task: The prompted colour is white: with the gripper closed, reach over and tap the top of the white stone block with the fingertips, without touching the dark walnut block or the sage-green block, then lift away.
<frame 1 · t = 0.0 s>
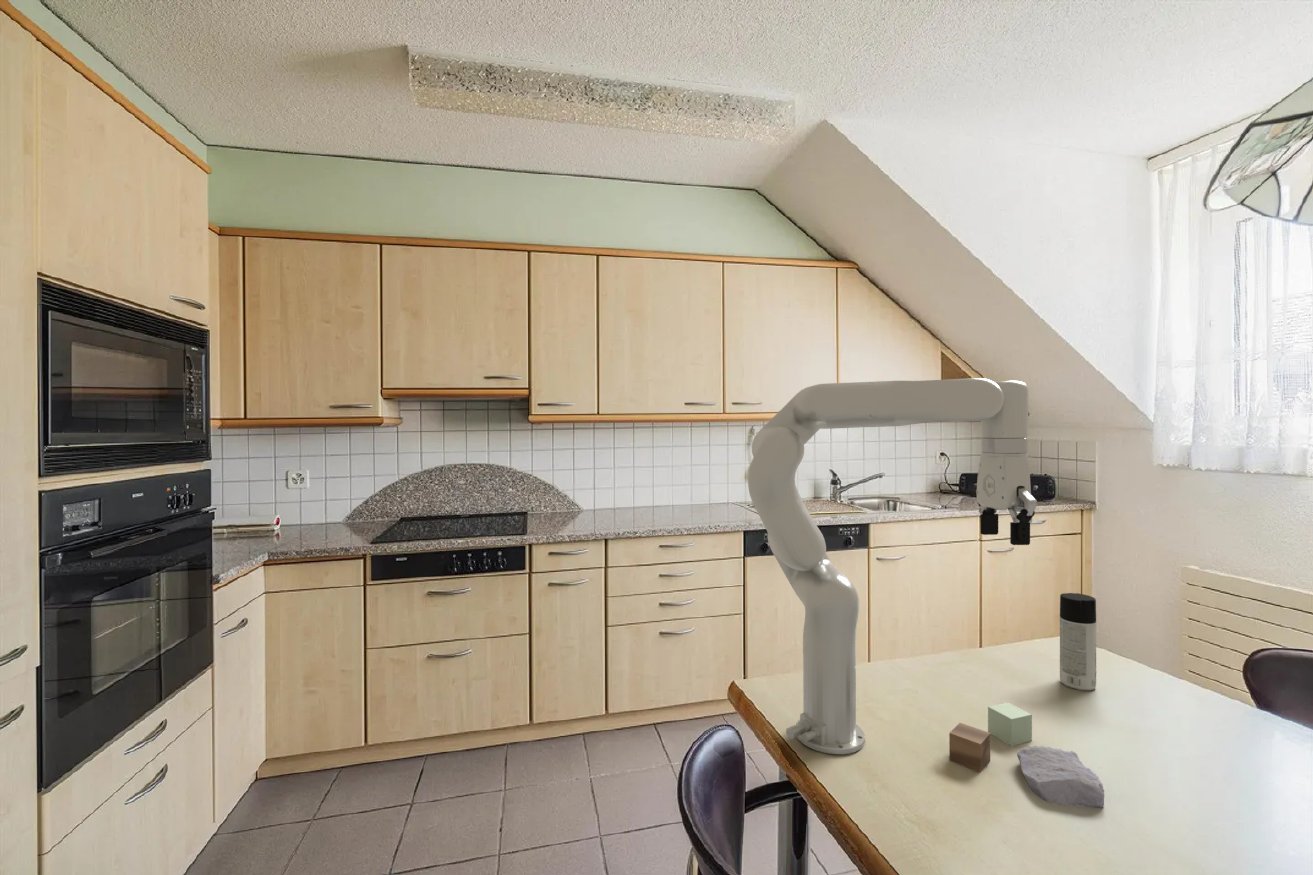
hand: (1004, 539, 108), 37 cm above the table, tool pointing down, fingers open, 9 cm apart
sage block: (1009, 736, 109), on the table
walnut block: (969, 761, 101), on the table
stone block: (1054, 785, 95), on the table
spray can: (1077, 685, 130), on the table
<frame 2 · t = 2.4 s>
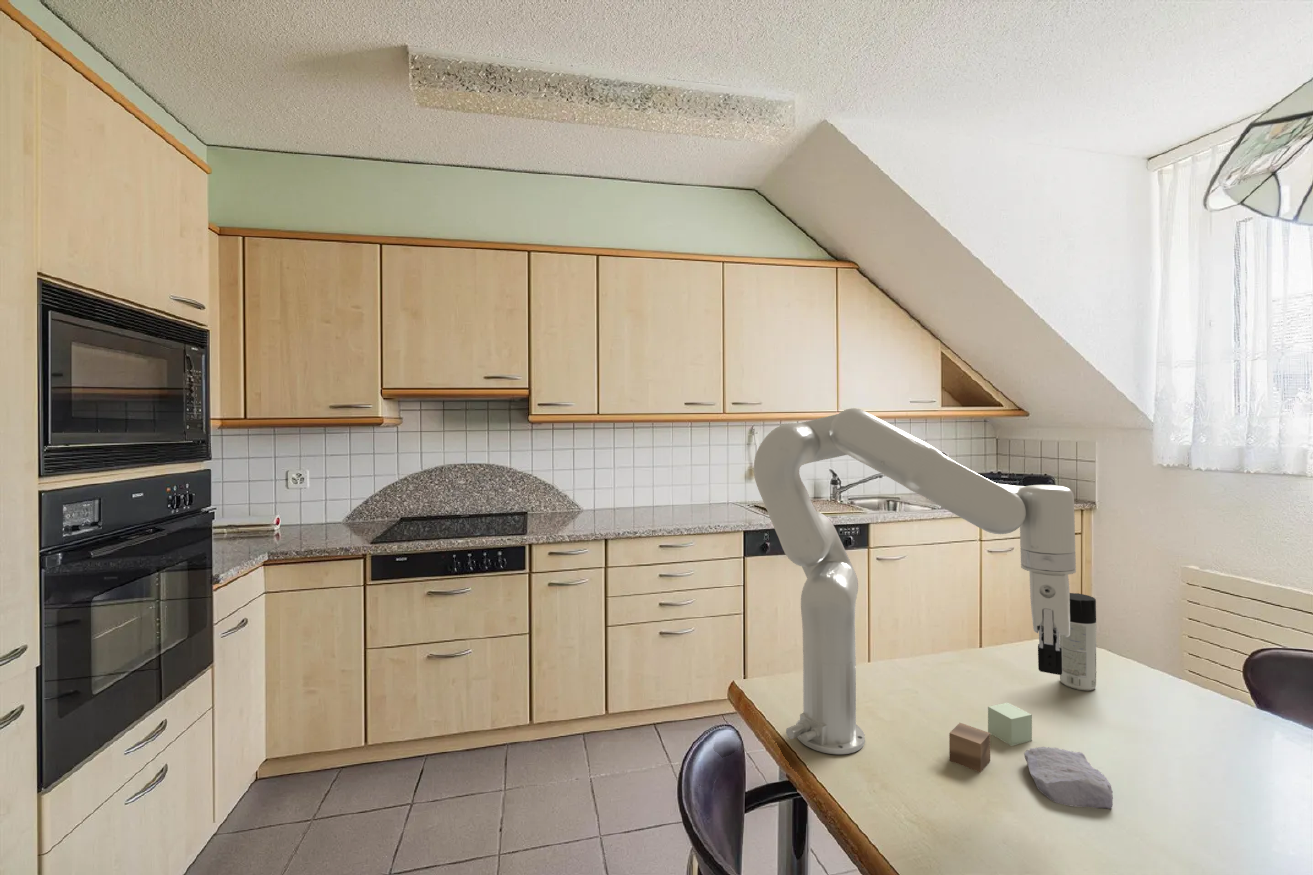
hand: (1050, 671, 96), 18 cm above the table, tool pointing down, fingers closed
stone block: (1062, 786, 95), on the table
everything else where it was.
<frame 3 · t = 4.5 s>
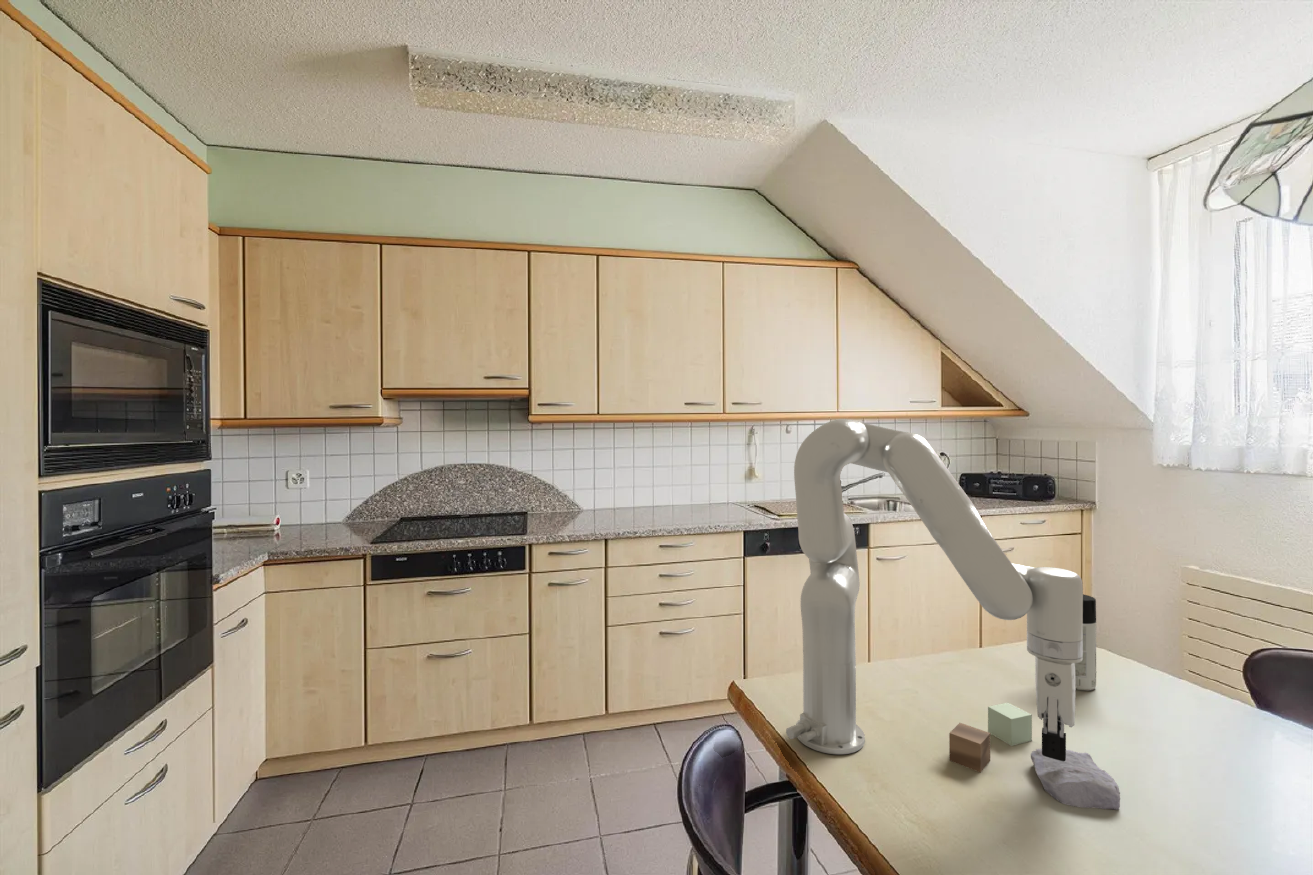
hand: (1053, 756, 95), 4 cm above the table, tool pointing down, fingers closed
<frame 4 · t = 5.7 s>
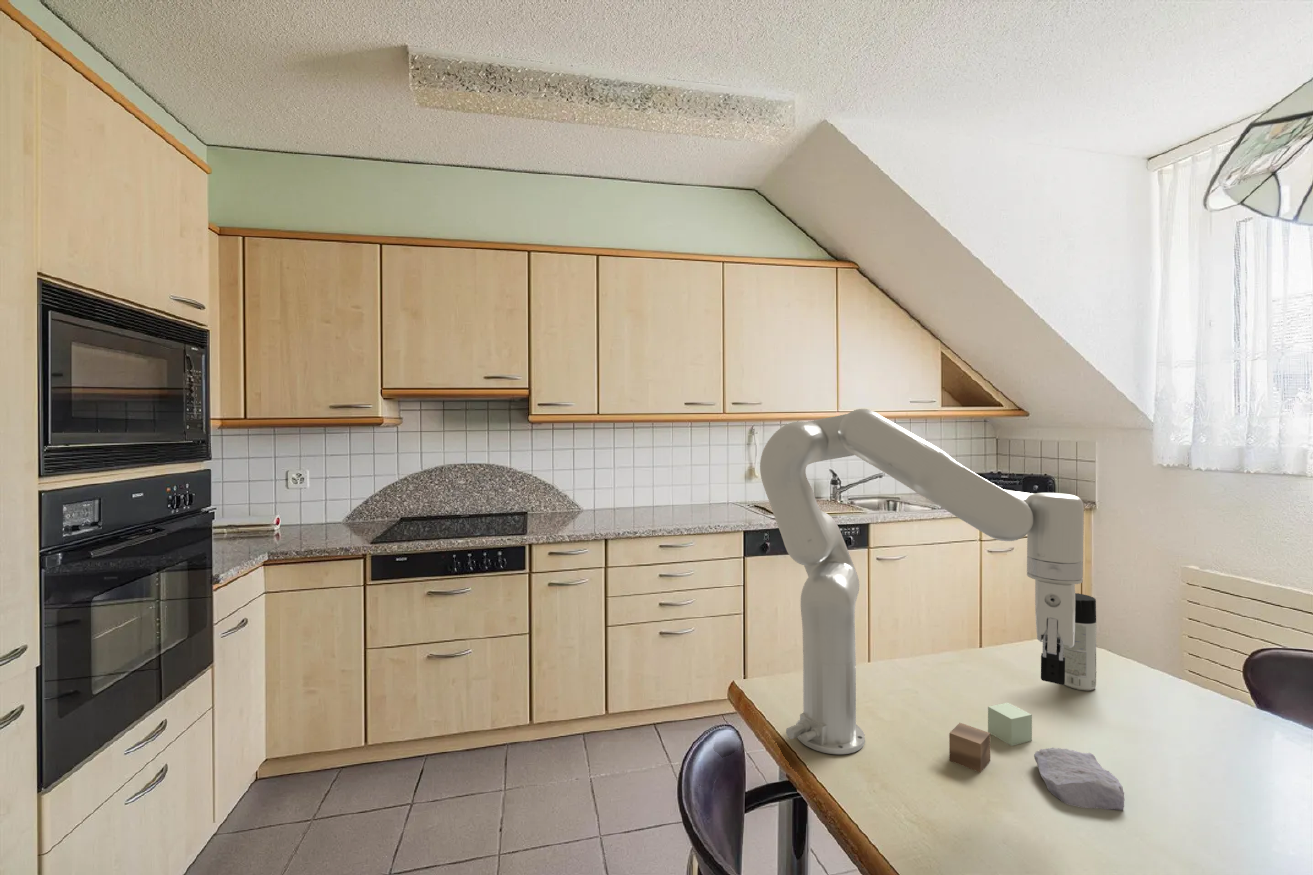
hand: (1052, 680, 95), 17 cm above the table, tool pointing down, fingers closed
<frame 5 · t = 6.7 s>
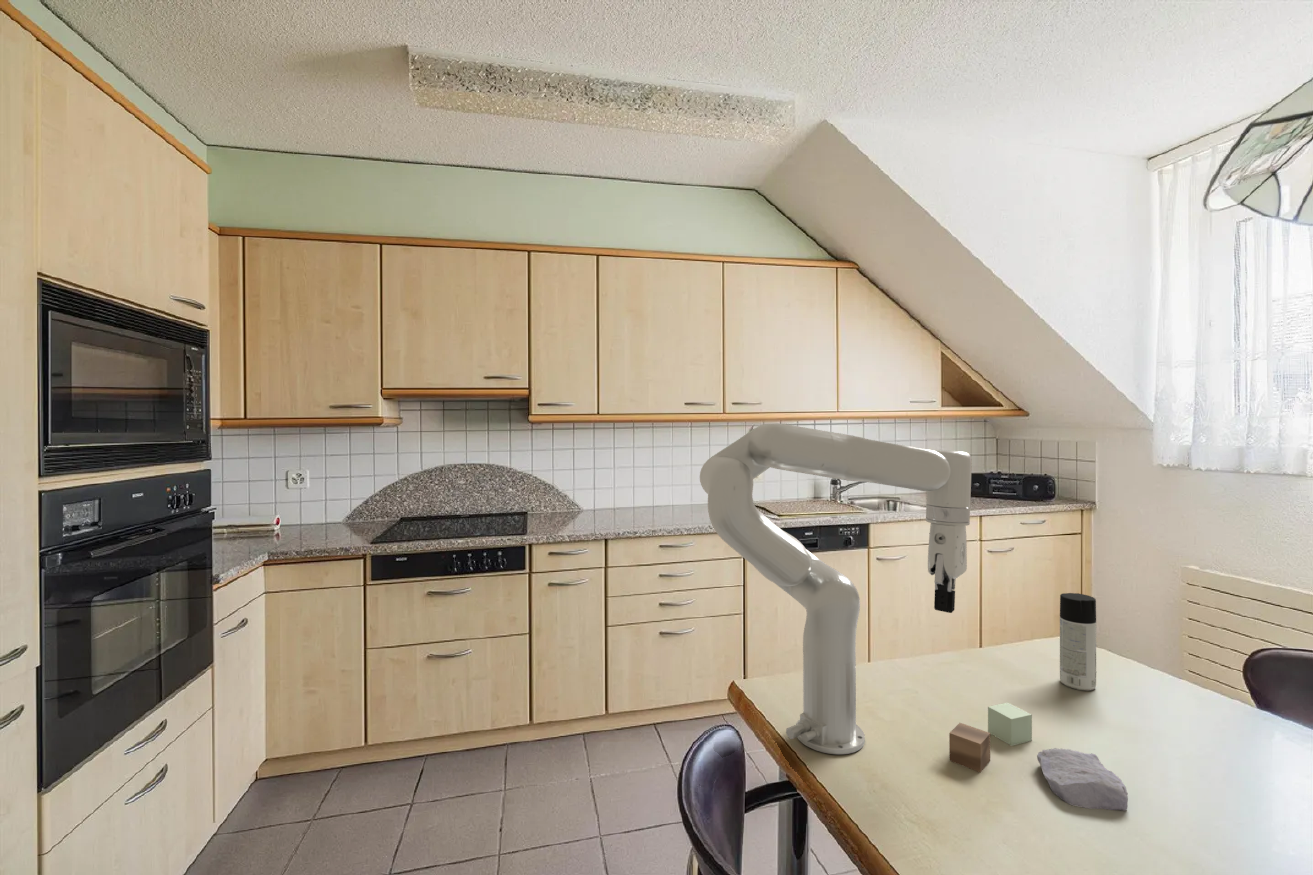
hand: (944, 610, 111), 23 cm above the table, tool pointing down, fingers closed
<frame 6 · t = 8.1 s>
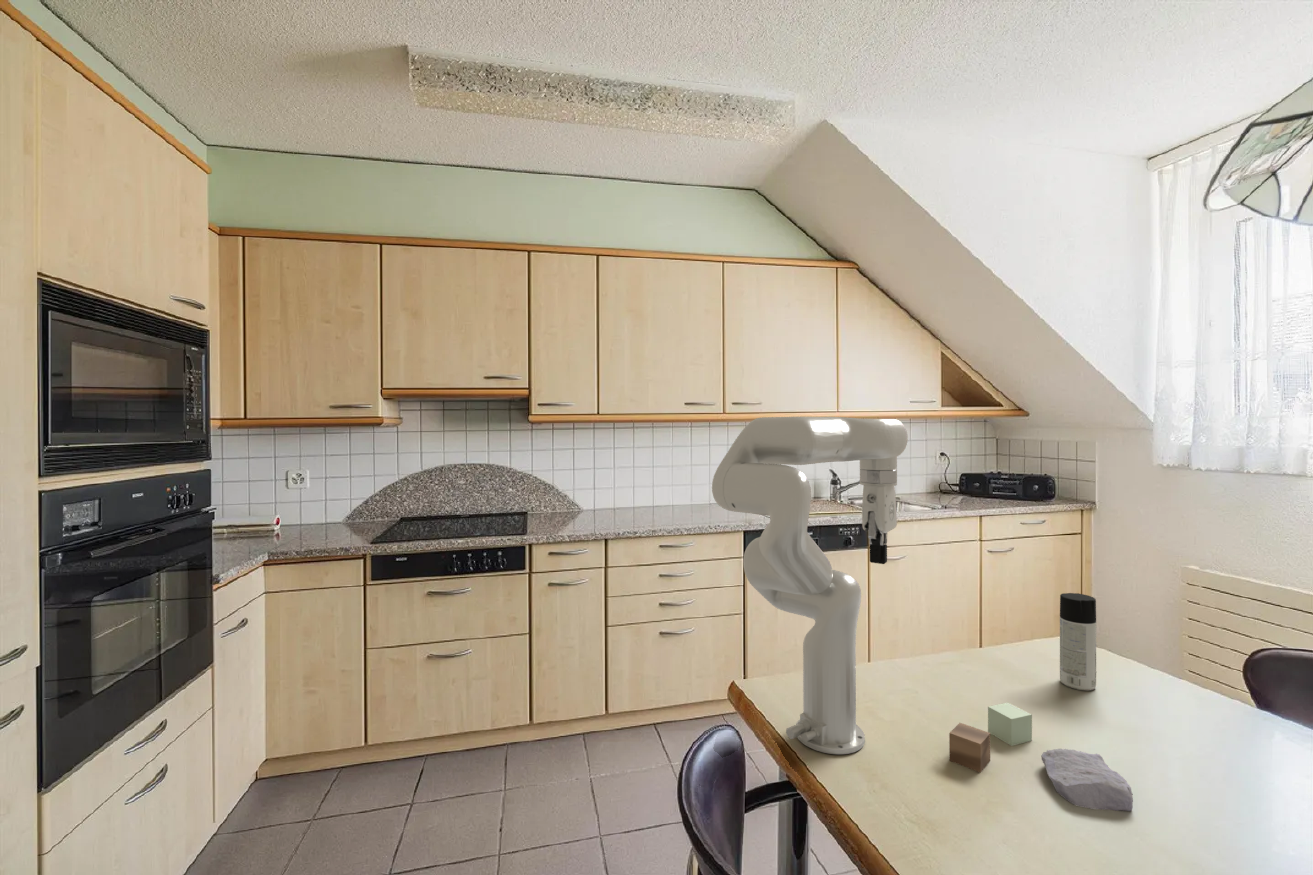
hand: (878, 562, 125), 29 cm above the table, tool pointing down, fingers closed
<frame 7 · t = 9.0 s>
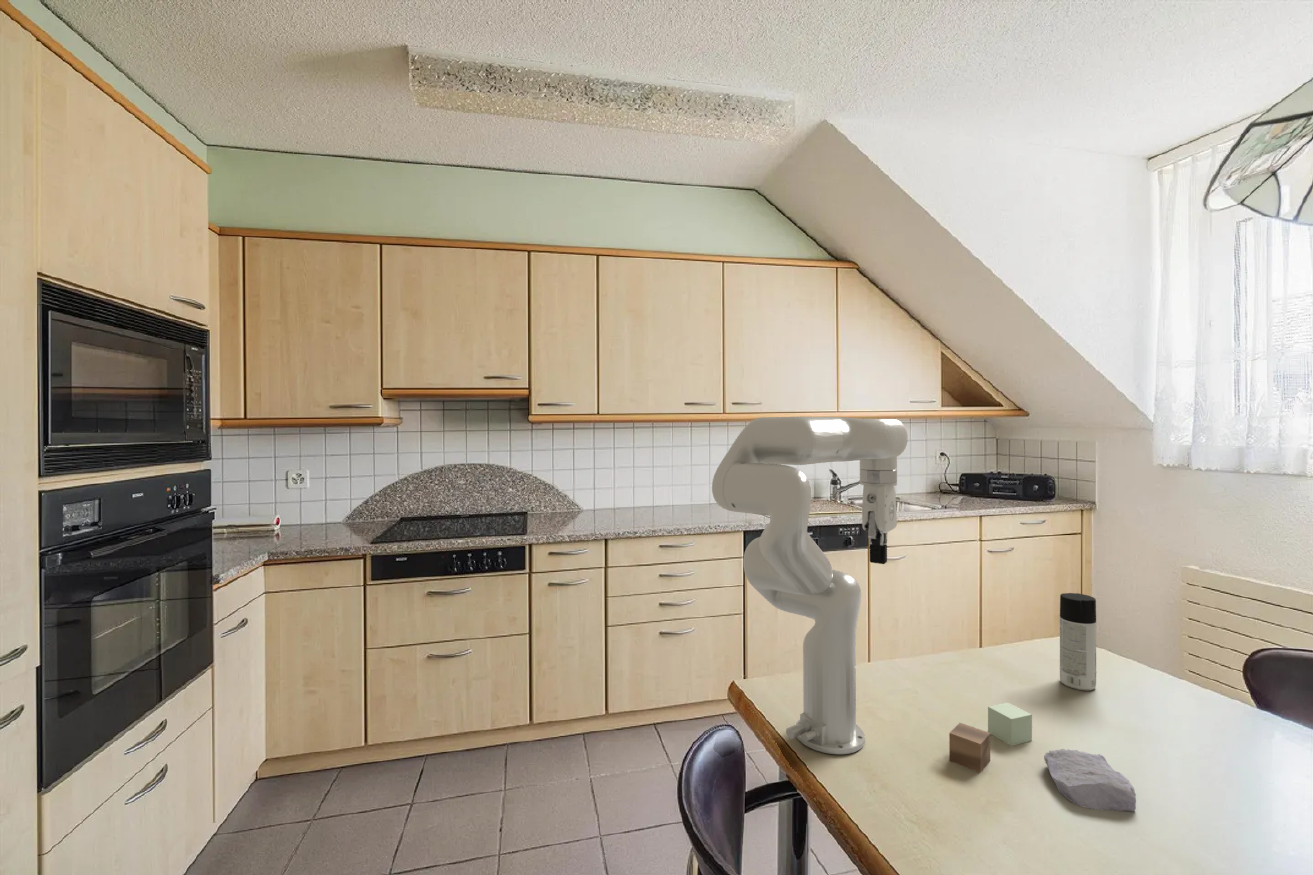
hand: (878, 562, 125), 29 cm above the table, tool pointing down, fingers closed
at the end: stone block inside the target area (4.2 cm from its centre), on the table; walnut block moved 0.1 cm from its start; sage block moved 0.1 cm from its start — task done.
